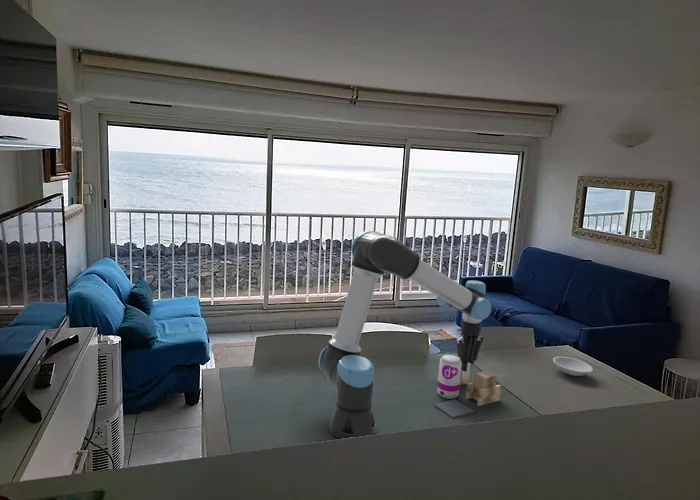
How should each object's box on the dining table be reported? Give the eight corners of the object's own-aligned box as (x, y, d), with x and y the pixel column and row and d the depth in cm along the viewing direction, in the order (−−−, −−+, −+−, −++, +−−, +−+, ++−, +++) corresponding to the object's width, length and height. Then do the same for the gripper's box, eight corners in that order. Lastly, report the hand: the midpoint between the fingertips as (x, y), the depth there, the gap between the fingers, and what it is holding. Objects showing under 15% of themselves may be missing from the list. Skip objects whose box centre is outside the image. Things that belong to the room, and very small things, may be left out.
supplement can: (457, 401, 184) (460, 363, 182) (435, 396, 187) (438, 359, 185) (460, 392, 192) (463, 356, 190) (439, 388, 195) (442, 352, 192)
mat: (452, 418, 171) (452, 416, 171) (434, 405, 180) (434, 404, 179) (473, 412, 176) (473, 410, 176) (454, 400, 185) (455, 399, 184)
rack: (478, 405, 181) (481, 380, 180) (436, 380, 202) (438, 357, 200) (500, 400, 187) (502, 375, 185) (457, 376, 207) (459, 354, 206)
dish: (599, 381, 210) (601, 370, 209) (573, 384, 205) (575, 373, 204) (568, 365, 226) (570, 355, 226) (543, 368, 221) (545, 358, 221)
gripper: (466, 324, 183) (459, 384, 186) (491, 322, 189) (484, 379, 193) (452, 319, 189) (446, 377, 193) (477, 316, 196) (470, 372, 199)
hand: (465, 378), depth 193 cm, fingers closed
